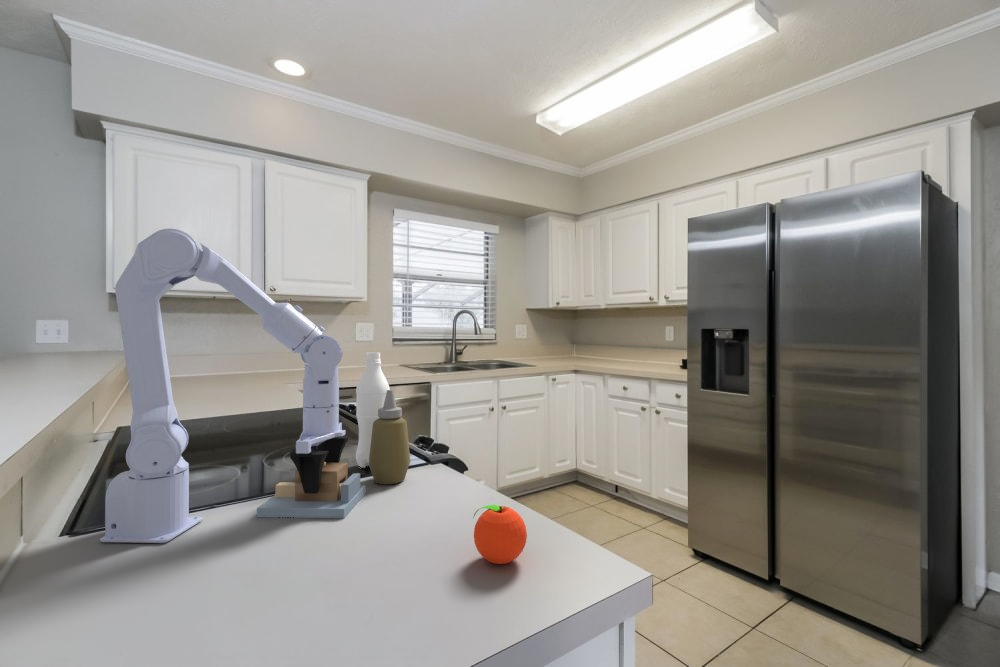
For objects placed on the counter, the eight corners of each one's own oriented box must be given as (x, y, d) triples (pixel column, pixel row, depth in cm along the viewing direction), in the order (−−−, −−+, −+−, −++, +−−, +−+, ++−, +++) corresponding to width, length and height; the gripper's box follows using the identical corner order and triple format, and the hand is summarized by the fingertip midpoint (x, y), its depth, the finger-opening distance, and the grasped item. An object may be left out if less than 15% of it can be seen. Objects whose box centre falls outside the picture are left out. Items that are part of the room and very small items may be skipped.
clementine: (456, 561, 59) (456, 507, 59) (487, 541, 65) (487, 491, 65) (507, 581, 55) (508, 521, 55) (536, 557, 61) (536, 504, 61)
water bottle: (349, 470, 97) (349, 353, 97) (364, 461, 105) (365, 351, 104) (381, 472, 96) (381, 353, 96) (394, 463, 103) (395, 352, 103)
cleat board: (256, 517, 73) (256, 489, 73) (289, 492, 84) (289, 468, 84) (344, 518, 73) (344, 489, 73) (365, 493, 84) (365, 469, 84)
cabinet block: (295, 501, 76) (295, 466, 76) (308, 490, 81) (308, 458, 81) (337, 501, 76) (337, 467, 76) (347, 491, 81) (347, 458, 81)
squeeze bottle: (418, 478, 93) (419, 389, 92) (389, 490, 86) (389, 394, 86) (390, 471, 97) (390, 386, 97) (359, 482, 90) (360, 390, 90)
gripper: (327, 413, 71) (327, 500, 71) (358, 399, 86) (357, 471, 86) (282, 412, 71) (282, 500, 71) (320, 398, 86) (320, 471, 86)
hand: (320, 484), depth 78 cm, fingers open, 7 cm apart
